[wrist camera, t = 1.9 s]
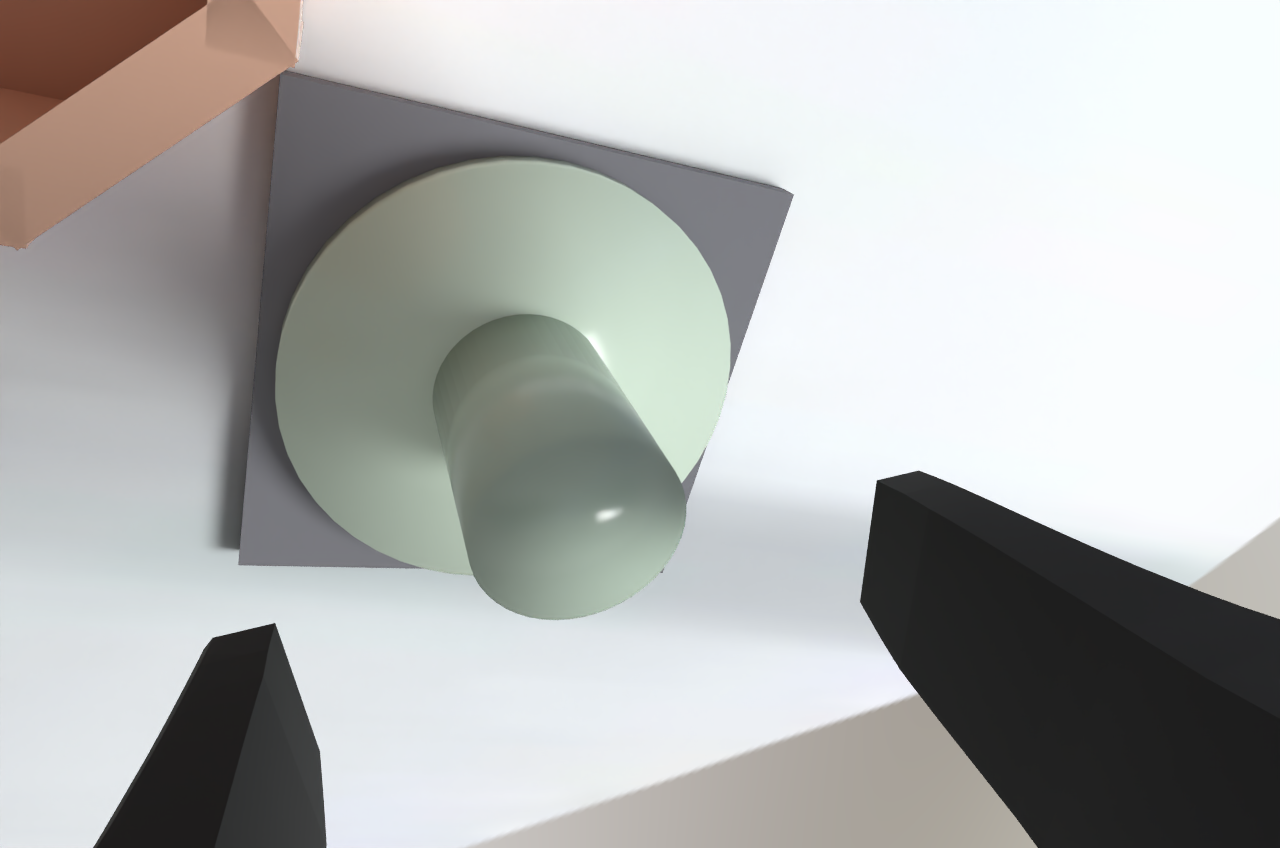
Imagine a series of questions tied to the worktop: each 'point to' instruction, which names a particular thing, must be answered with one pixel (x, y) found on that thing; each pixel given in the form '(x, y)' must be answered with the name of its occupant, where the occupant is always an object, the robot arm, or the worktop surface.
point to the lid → (507, 380)
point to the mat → (383, 158)
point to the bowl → (119, 90)
